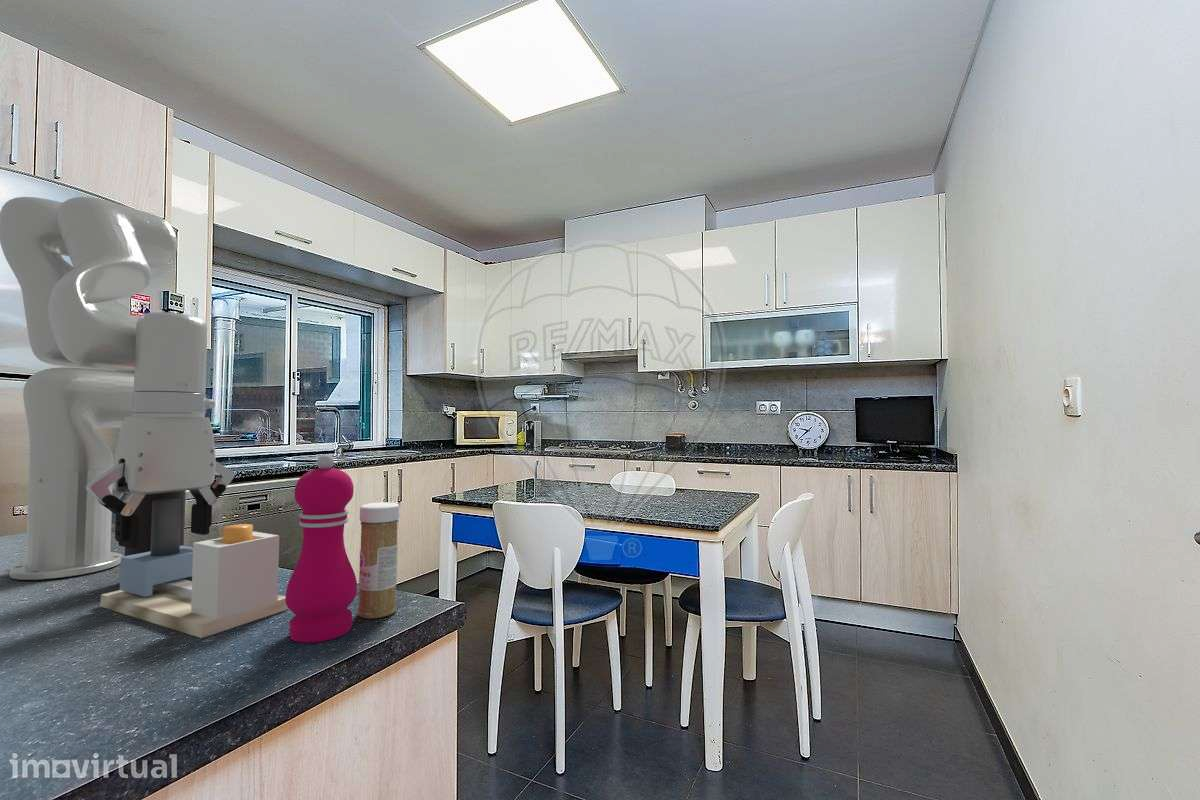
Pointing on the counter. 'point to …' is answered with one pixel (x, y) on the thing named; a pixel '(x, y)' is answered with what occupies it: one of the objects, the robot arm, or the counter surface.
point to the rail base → (182, 609)
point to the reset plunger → (237, 533)
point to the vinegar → (146, 520)
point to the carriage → (158, 553)
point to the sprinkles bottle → (378, 559)
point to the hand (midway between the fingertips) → (165, 538)
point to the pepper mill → (322, 557)
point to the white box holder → (234, 575)
